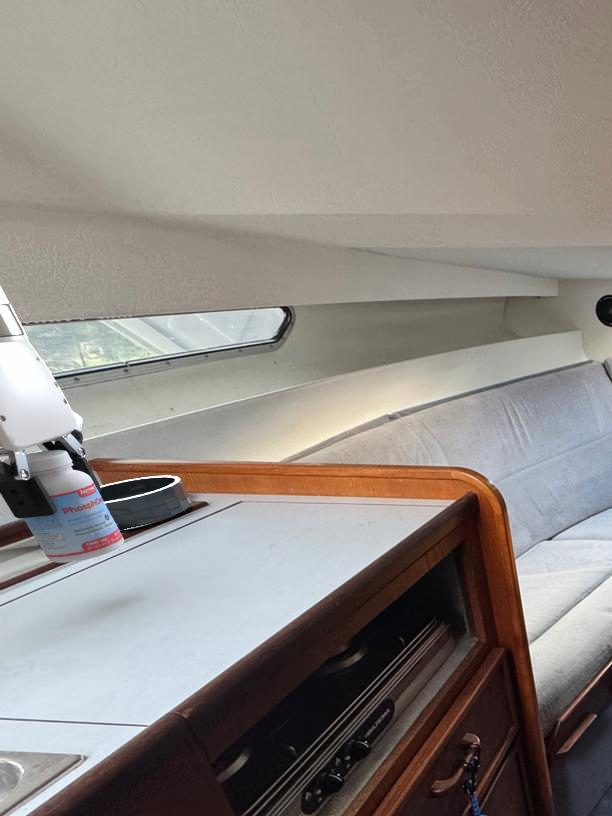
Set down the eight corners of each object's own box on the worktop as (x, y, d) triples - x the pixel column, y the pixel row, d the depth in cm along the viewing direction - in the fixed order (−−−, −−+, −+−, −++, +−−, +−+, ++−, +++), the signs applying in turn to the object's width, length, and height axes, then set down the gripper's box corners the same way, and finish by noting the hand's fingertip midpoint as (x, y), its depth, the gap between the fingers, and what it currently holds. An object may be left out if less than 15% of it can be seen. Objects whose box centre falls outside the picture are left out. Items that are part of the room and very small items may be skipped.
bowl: (60, 541, 84) (41, 510, 82) (117, 510, 95) (102, 482, 93) (166, 527, 87) (150, 497, 85) (208, 498, 98) (196, 471, 96)
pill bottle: (104, 560, 61) (49, 461, 57) (34, 568, 60) (-29, 467, 55) (138, 537, 67) (90, 445, 62) (75, 544, 65) (21, 451, 60)
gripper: (-13, 322, 60) (75, 482, 67) (-196, 338, 45) (-56, 542, 52) (75, 319, 61) (151, 475, 69) (-72, 333, 46) (45, 530, 54)
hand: (61, 502), depth 61 cm, fingers closed on pill bottle, 6 cm apart
